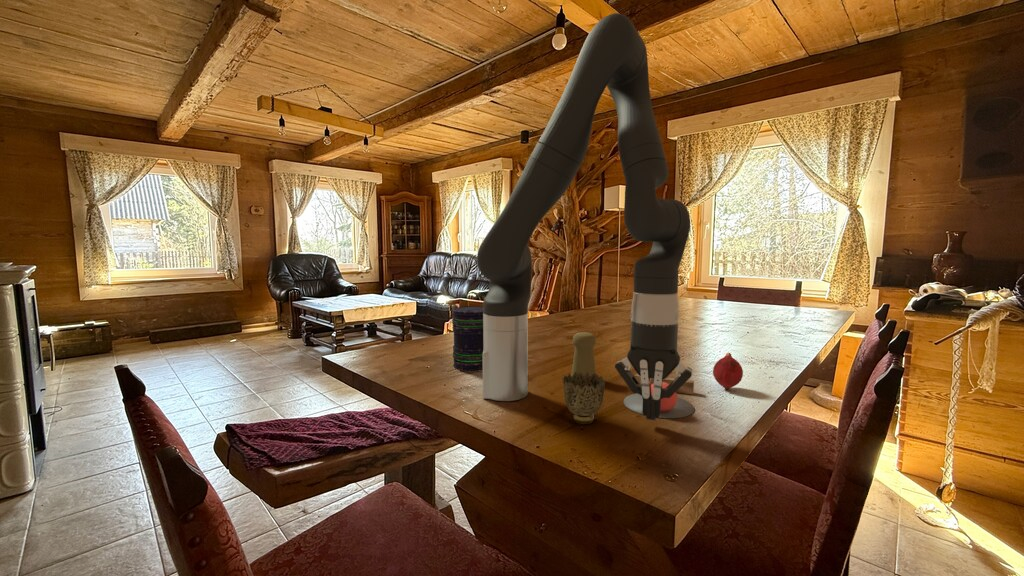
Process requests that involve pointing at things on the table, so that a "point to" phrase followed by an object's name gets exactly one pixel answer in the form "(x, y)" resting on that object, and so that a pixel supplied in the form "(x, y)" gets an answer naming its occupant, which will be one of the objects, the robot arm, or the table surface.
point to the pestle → (583, 353)
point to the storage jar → (468, 338)
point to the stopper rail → (685, 388)
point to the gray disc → (678, 411)
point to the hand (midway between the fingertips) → (651, 418)
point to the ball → (666, 399)
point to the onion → (727, 371)
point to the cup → (583, 395)
